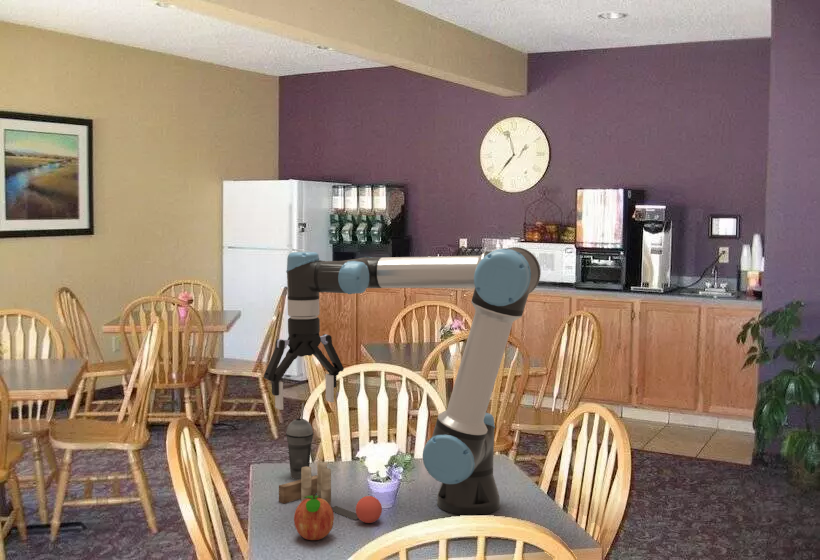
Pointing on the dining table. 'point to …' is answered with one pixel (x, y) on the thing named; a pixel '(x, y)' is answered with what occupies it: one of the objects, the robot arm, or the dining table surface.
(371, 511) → the ball
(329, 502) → the pin front
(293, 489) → the back rail
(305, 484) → the pin
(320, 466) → the pin
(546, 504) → the dining table surface
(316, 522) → the fruit
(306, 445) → the beverage cup
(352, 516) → the dark grey flat bar
